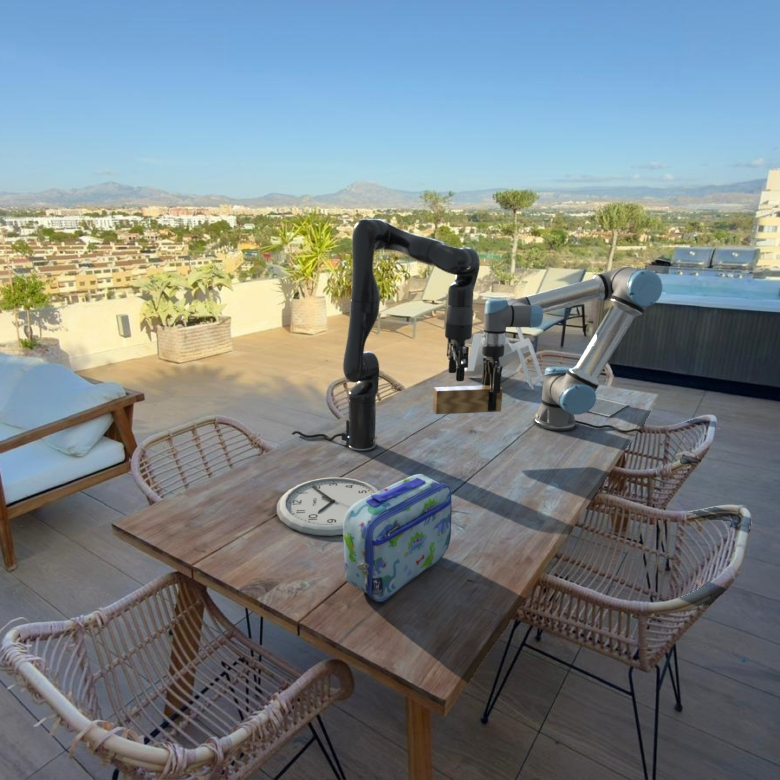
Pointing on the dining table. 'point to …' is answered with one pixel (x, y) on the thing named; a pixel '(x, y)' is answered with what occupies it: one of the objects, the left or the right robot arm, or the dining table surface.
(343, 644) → the dining table surface
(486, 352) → the right robot arm
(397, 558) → the lunch box
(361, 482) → the wall clock
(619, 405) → the invitation card
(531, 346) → the white plastic object
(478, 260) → the left robot arm
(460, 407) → the bar
